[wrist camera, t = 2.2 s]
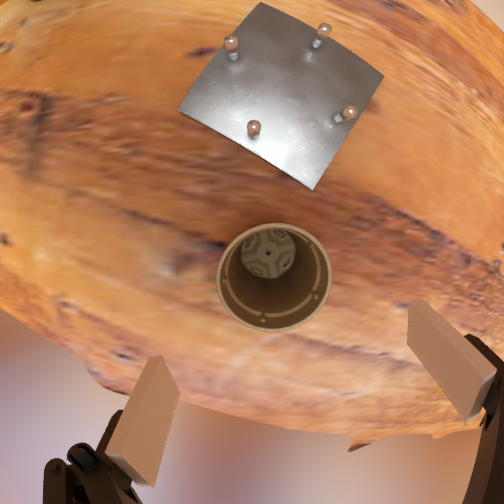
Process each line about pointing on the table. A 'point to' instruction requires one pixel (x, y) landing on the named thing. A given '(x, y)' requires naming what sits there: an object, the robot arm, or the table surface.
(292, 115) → the plate
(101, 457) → the robot arm
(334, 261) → the table surface
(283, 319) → the flower pot
